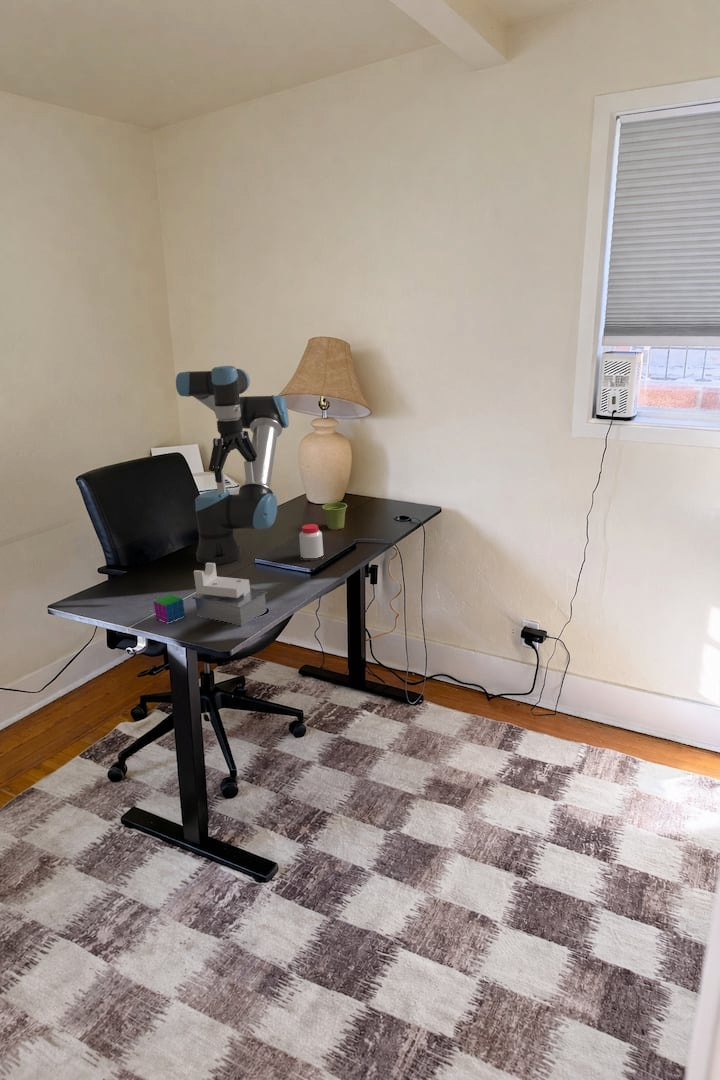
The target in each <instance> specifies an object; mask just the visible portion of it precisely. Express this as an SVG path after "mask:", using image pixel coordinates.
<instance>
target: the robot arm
mask: <svg viewBox="0 0 720 1080" xmlns="http://www.w3.org/2000/svg"><path fill="white" fill-rule="evenodd" d="M250 384H251V380H250V376H249V374H248V372H246V371H245V370H244V369H241V368H237V367H236V366H235V365H220V366H215V367H213V368H212V369H211V370H201V371H200V370H198V371H181V372H179V373H178V374H177V375H176V378H175V388H176V391H177V394H178V395H179V396H181V397H188V398H189V397H194V399H195V400H197V401H198V402H200V403H202V404H203V405H205V406H206V407H207V408H208V409H210V410H212V411H213V412H214V414H215V418H216V419H217V420H216V426H217V427H216V428H217V432H218V433H219V435H220V438H218V437H217V438H216V437H215V438H213V439H212V445H213V446H212V451H211V454H210V455H211V457H210V461H209V464H208V471H209V472H213V474H214V480H215V483H216V489H213V490H209V491H206V492H202V493H201V494H199V495H198V496H197V497H195V500H194V502H195V503H194V504H195V505H194V506H195V510H194V511H195V514H196V516H195V517H196V521H197V523H196V524H197V530H198V538H199V539H198V544H197V548H196V553H195V555H196V561H197V562H198V563H199V564H203V565H206V563H215V565H216V566H217V565H224V564H229V563H232V562H235V561H237V560H239V559H240V558H241V556H242V552H241V551H242V550H241V547H240V546H239V544H238V541H237V539H236V537H235V533H234V530H261V529H269V528H271V527H272V526H274V523H275V521H276V518H277V513H278V498H277V496H276V495H275V494H274V491H273V490H272V489H271V482H272V481H271V480H272V474H273V467H274V460H275V453H276V446H277V440H278V439H277V438H278V437H280V436H281V435H282V432H283V429H287V428H288V427H289V423H290V422H289V419H290V418H289V413H288V412H289V411H288V406H287V402H286V400H285V398H284V397H283V396H282V395H273V394H272V395H259V396H258V395H253V396H240V395H241V394H243V393H245V392H246V391H247V390H248V388H249V387H250ZM243 429H245V430H243ZM247 430H250V431H251V433H252V439H250V437H249V432H248V431H247ZM233 450H237V451H238V452H239V454H240V455H241V456H242V457H243V459H245V461H244V462H243V464H244V465H243V466H244V475H245V481H244V484H243V485H240V487H239V489H238V494H231V493H230V490H229V489H228V488H226V487H227V486H226V480H225V479H226V477H225V472H224V471H223V469H224V465H225V463H226V460H227V458H228V456H229V454H230V453H231V451H233Z"/></svg>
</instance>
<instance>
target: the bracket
mask: <svg viewBox="0 0 720 1080" xmlns="http://www.w3.org/2000/svg"><path fill="white" fill-rule="evenodd" d="M216 566H217V565H215V563H206V564H205V569H204V570H197V569H195V570H194V571H193V576H194V577H193V578H194V584H195V592H196V595H197V594H206V595H215V596H224V597H233V598H238V597H239V596H245V595H246V594H247V593H249V592H250V588H251V586H250V579H245V578H237V577H236V578H234V577H228V576H227V577H225V576H217V567H216Z"/></svg>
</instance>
